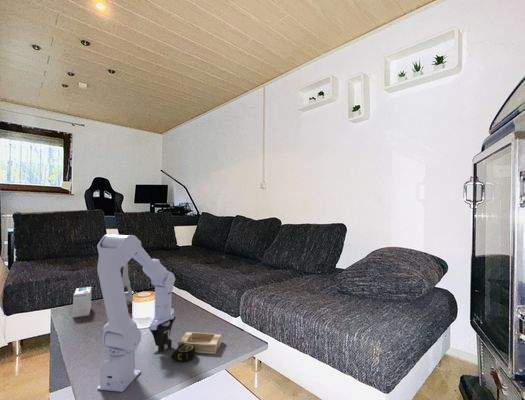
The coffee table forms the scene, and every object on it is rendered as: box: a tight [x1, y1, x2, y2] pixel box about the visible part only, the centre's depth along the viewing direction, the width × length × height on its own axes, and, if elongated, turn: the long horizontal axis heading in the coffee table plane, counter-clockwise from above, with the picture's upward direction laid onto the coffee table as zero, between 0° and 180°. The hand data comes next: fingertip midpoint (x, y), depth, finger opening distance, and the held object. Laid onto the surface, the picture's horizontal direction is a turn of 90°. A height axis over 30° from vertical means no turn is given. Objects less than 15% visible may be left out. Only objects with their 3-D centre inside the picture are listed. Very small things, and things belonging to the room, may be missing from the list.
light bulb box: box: [72, 286, 92, 318], centre depth 134 cm, size 11×7×11 cm, turn 28°
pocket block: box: [177, 331, 223, 355], centre depth 104 cm, size 9×14×3 cm, turn 83°
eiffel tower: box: [122, 261, 135, 303], centre depth 143 cm, size 13×13×30 cm
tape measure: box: [170, 343, 196, 362], centre depth 96 cm, size 7×7×4 cm
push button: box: [152, 320, 173, 353], centre depth 101 cm, size 7×5×10 cm
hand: (162, 341), depth 102 cm, fingers open, 5 cm apart
